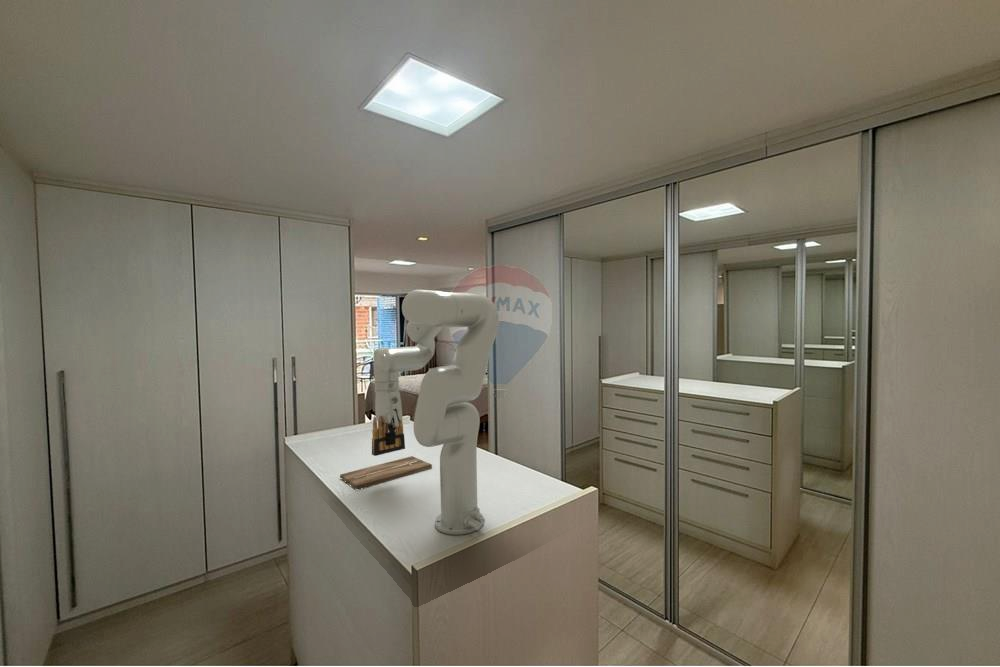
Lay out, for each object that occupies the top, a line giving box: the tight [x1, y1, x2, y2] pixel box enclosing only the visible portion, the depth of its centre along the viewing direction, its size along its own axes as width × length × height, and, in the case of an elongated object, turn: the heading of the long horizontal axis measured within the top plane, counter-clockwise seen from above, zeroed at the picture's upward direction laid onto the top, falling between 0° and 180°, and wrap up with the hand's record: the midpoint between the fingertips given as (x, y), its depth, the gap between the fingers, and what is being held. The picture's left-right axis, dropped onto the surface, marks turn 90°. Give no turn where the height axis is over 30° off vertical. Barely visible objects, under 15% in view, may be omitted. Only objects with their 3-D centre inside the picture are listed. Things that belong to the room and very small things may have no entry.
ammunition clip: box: [371, 416, 406, 457], centre depth 131 cm, size 11×2×12 cm, turn 132°
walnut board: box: [339, 455, 433, 490], centre depth 145 cm, size 14×28×2 cm, turn 132°
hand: (388, 443), depth 131 cm, fingers closed on ammunition clip, 2 cm apart
